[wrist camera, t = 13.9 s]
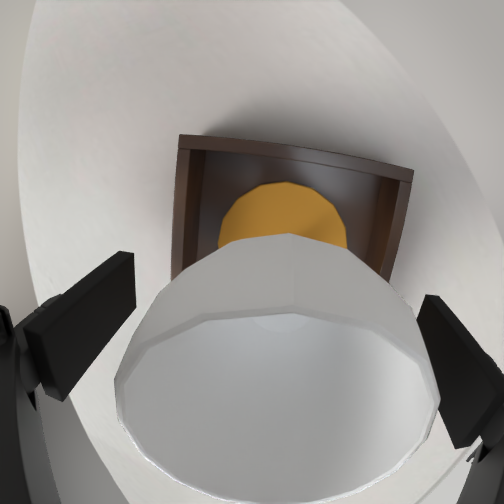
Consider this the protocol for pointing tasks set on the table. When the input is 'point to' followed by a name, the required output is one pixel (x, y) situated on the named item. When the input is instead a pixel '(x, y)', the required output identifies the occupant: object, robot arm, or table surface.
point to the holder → (279, 170)
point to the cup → (278, 363)
